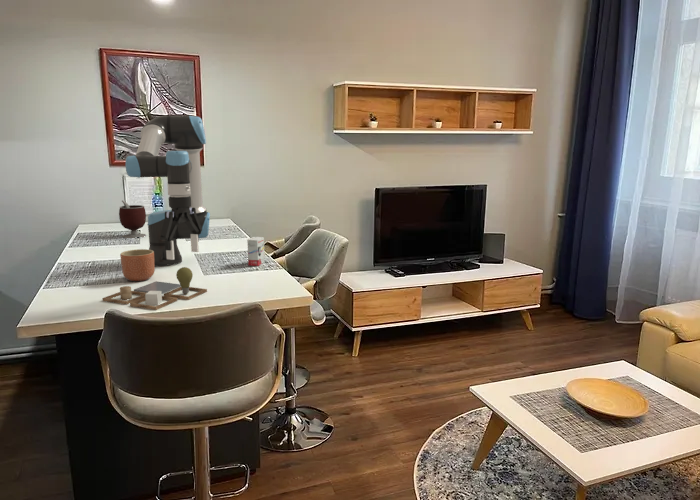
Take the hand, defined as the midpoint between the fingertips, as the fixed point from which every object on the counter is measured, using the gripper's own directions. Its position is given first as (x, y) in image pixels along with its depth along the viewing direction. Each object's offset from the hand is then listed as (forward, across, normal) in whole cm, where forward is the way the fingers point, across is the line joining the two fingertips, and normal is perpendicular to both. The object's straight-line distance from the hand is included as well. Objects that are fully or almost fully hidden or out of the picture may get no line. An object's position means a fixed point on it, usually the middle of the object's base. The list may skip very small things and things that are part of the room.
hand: (183, 255), depth 187 cm
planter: (+14, +10, +30) cm, 35 cm away
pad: (+14, +2, +14) cm, 20 cm away
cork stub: (+14, -12, +16) cm, 25 cm away
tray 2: (+14, -13, +3) cm, 20 cm away
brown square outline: (+14, 0, 0) cm, 14 cm away
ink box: (+14, +50, 0) cm, 52 cm away
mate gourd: (+13, +81, +98) cm, 128 cm away
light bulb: (+15, 0, 0) cm, 15 cm away
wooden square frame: (+14, -12, +16) cm, 25 cm away
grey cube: (+15, -13, +3) cm, 20 cm away
